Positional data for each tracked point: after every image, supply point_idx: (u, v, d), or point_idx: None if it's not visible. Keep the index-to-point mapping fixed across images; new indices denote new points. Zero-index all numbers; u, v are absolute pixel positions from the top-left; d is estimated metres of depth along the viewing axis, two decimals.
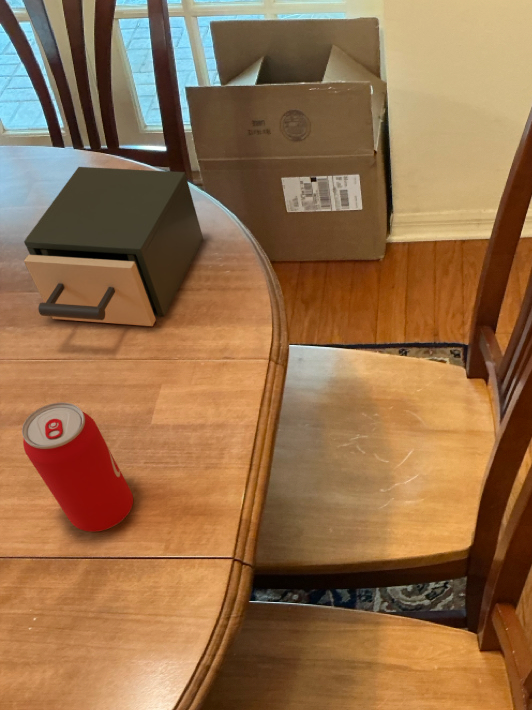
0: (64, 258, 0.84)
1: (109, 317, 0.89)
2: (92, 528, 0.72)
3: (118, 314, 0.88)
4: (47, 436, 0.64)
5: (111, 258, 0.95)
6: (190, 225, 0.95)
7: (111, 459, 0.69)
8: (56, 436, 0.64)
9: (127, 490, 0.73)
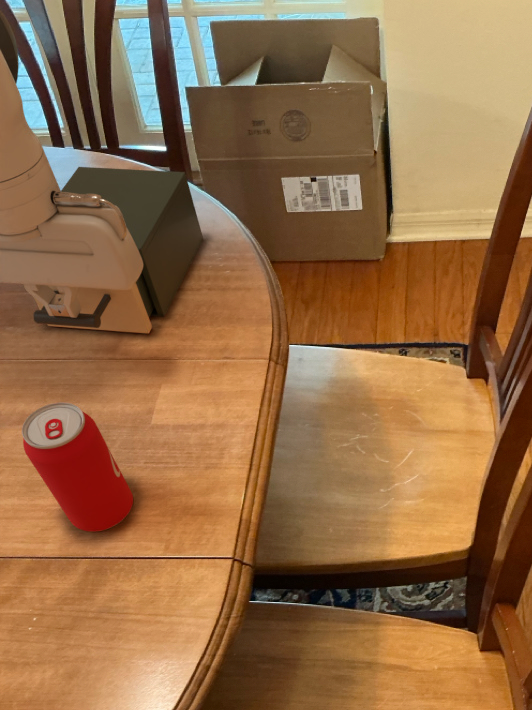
0: None
1: (105, 324, 0.88)
2: (92, 528, 0.72)
3: (114, 321, 0.88)
4: (47, 436, 0.64)
5: None
6: (190, 225, 0.95)
7: (111, 459, 0.69)
8: (56, 436, 0.64)
9: (127, 490, 0.73)
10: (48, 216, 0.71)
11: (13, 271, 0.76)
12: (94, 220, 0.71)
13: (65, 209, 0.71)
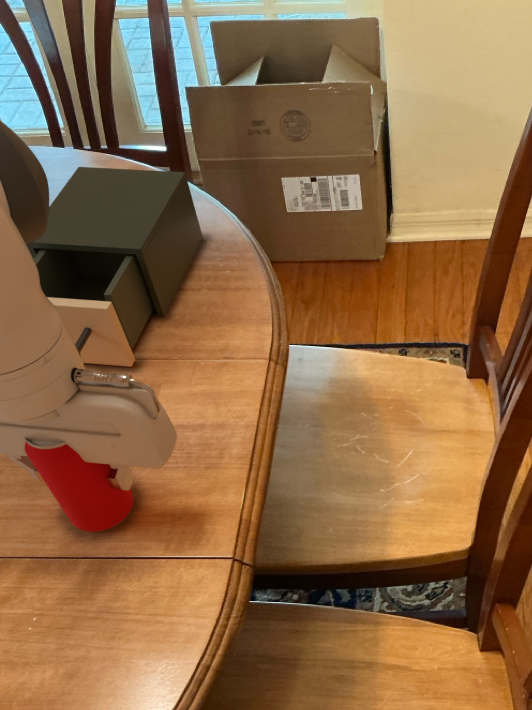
0: None
1: (86, 357, 0.85)
2: (92, 528, 0.72)
3: (95, 354, 0.84)
4: None
5: (90, 293, 0.91)
6: (190, 225, 0.95)
7: None
8: None
9: (127, 490, 0.73)
10: (68, 398, 0.59)
11: None
12: (123, 402, 0.60)
13: (87, 388, 0.60)
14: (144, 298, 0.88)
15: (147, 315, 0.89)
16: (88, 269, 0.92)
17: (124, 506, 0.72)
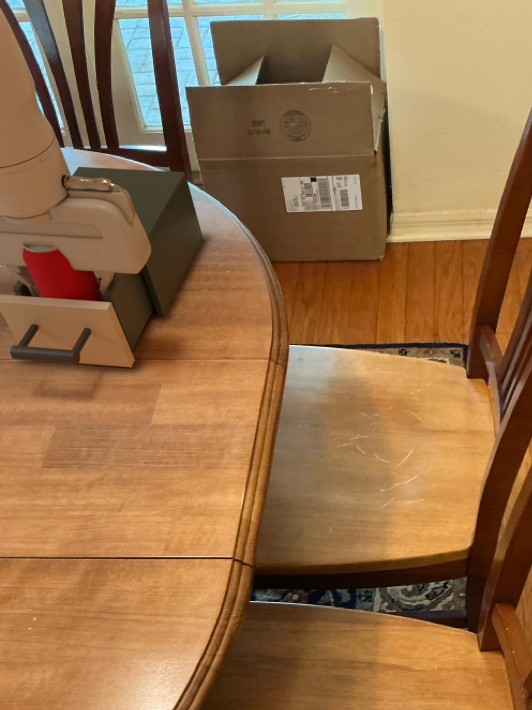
0: (37, 298, 0.80)
1: (85, 358, 0.85)
2: None
3: (95, 355, 0.84)
4: None
5: None
6: (190, 225, 0.95)
7: None
8: None
9: None
10: (59, 199, 0.72)
11: None
12: (104, 204, 0.72)
13: (75, 193, 0.73)
14: (144, 299, 0.88)
15: (147, 316, 0.89)
16: None
17: None
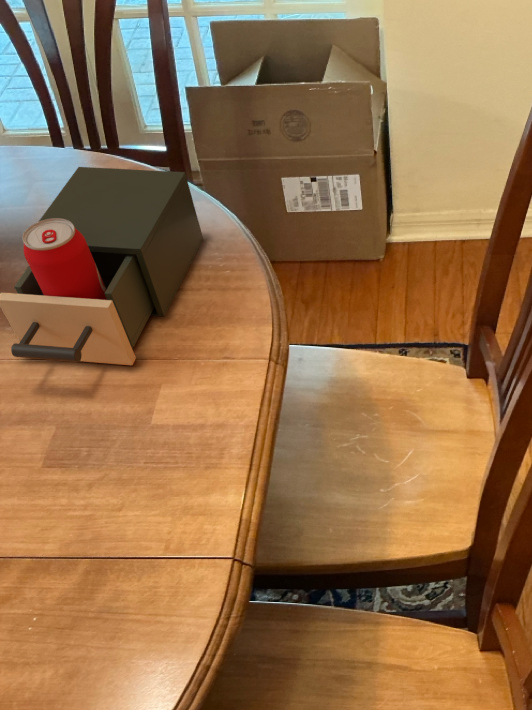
0: (38, 296, 0.80)
1: (87, 356, 0.85)
2: None
3: (96, 353, 0.84)
4: (43, 241, 0.77)
5: None
6: (190, 225, 0.95)
7: (97, 273, 0.82)
8: (51, 241, 0.77)
9: None
10: None
11: None
12: None
13: None
14: (145, 297, 0.88)
15: (147, 314, 0.89)
16: None
17: None
